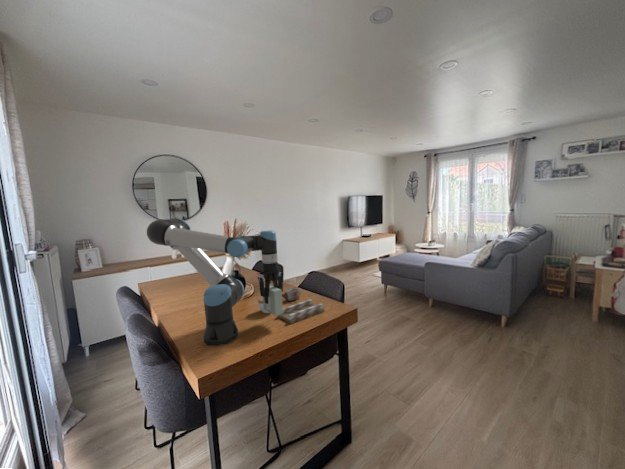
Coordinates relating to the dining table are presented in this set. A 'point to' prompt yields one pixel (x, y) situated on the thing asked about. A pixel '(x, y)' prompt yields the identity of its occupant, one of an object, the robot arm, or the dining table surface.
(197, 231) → the robot arm
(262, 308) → the lidded jar
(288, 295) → the decorative duck model
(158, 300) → the dining table surface
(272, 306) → the pale green square block
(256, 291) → the dining table surface
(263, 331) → the dining table surface
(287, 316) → the grey bumpy tray
